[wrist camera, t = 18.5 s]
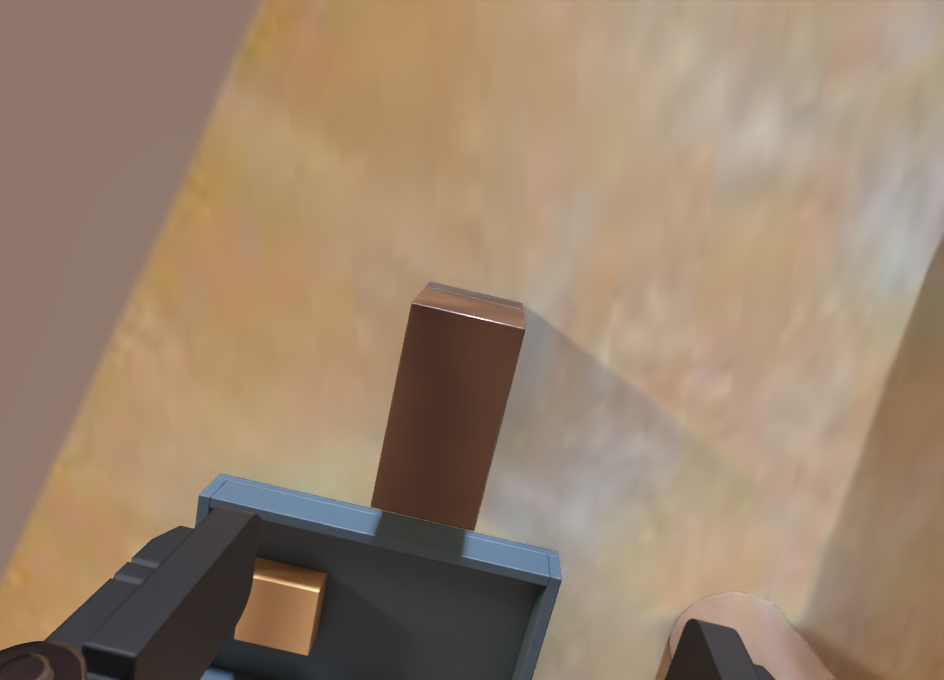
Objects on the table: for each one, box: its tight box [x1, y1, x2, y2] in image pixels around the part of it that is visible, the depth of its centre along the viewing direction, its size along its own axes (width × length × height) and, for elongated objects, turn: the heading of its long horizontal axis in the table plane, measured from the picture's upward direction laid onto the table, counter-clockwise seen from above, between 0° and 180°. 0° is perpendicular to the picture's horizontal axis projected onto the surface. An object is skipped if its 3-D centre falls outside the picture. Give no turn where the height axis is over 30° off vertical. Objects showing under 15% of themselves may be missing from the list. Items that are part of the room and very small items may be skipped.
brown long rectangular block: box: [371, 282, 525, 531], centre depth 27 cm, size 4×9×6 cm, turn 167°
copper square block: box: [234, 557, 328, 656], centre depth 32 cm, size 4×4×2 cm
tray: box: [195, 474, 562, 680], centre depth 32 cm, size 18×12×2 cm
